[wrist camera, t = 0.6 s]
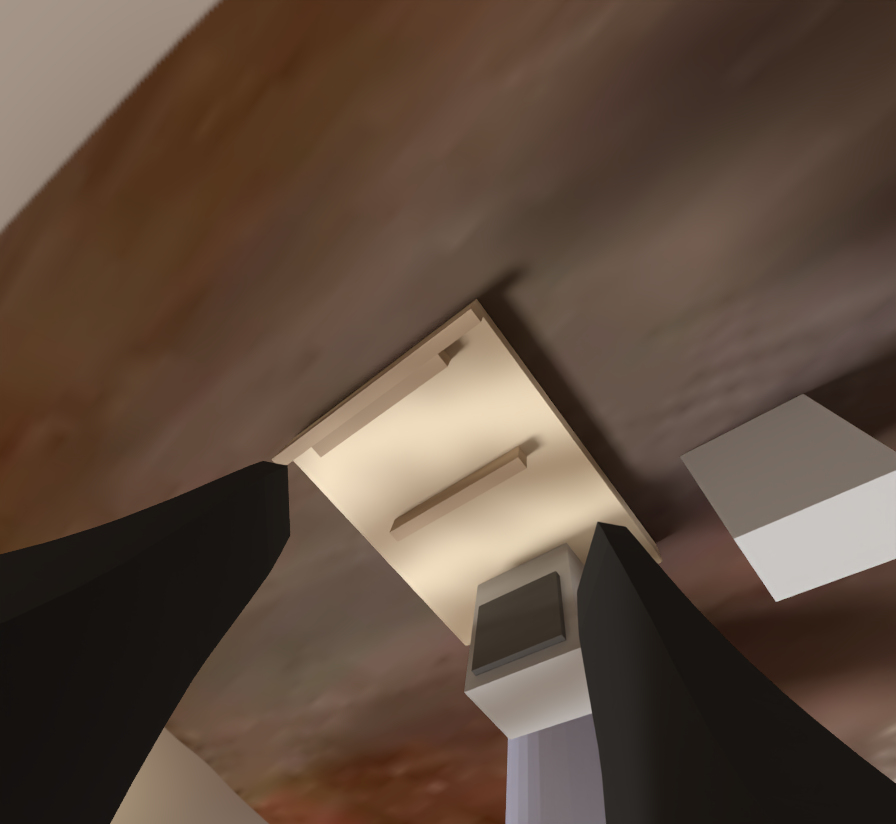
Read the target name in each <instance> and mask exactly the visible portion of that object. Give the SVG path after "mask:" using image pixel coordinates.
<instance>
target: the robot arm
mask: <svg viewBox="0 0 896 824" xmlns="http://www.w3.org/2000/svg"><path fill="white" fill-rule="evenodd" d="M289 537H290V520H289V494H288V468H287V465H282V464H277V463H271V462H266V461H262V462H259V463H256V464H253V465H250V466H248V467H245V468H243V469H240V470H238V471H236V472H233V473H231V474H229V475H226V476H224V477H222V478H219V479H217V480H215V481H212V482H210V483H208V484H205V485H203V486H201V487H198V488H196V489H194V490H191V491H189V492H187V493H184V494H182V495H179V496H177V497H175V498H172V499H170V500H167V501H165V502H162V503H159V504H157V505H154V506H152V507H149V508H147V509H144V510H141V511H139V512H136V513H134V514H131V515H129V516H126V517H123V518H121V519H118V520H115V521H112V522H109V523H106V524H104V525H101V526H98V527H95V528H92V529H89V530H85V531H82V532H79V533H76V534H73V535H69V536H66V537H63V538H60V539H57V540H53V541H50V542H46V543H43V544H39V545H35V546H31V547H27V548H23V549H20V550H16V551H12V552H8V553H4V554H0V824H110V823H111V821H112V819H113V817H114V815H115V814H116V812H117V810H118V808H119V806H120V804H121V802H122V801H123V799H124V797H125V795H126V793H127V791H128V789H129V787H130V786H131V784H132V782H133V780H134V779H135V777H136V775H137V773H138V772H139V770H140V768H141V766H142V765H143V763H144V761H145V759H146V758H147V756H148V754H149V752H150V751H151V749H152V747H153V746H154V744H155V742H156V740H157V739H158V737H159V735H160V733H161V732H162V730H163V728H164V726H165V725H166V723H167V721H168V720H169V718H170V716H171V715H172V713H173V711H174V710H175V708H176V706H177V705H178V703H179V702H180V700H181V698H182V697H183V695H184V693H185V692H186V690H187V688H188V687H189V685H190V683H191V682H192V680H193V678H194V677H195V676H196V674H197V673H198V671H199V670H200V668H201V667H202V665H203V664H204V662H205V661H206V659H207V658H208V657H209V655H210V654H211V652H212V651H213V650H214V648H215V647H216V646H217V644H218V643H219V642H220V640H221V639H222V638H223V636H224V635H225V633H226V632H227V631H228V629H229V628H230V627H231V625H232V624H233V623H234V621H235V620H236V619H237V617H238V616H239V614H240V613H241V612H242V610H243V609H244V608H245V606H246V605H247V604H248V602H249V601H250V600H251V598H252V597H253V595H254V594H255V593H256V591H257V590H258V588H259V587H260V586H261V584H262V583H263V582H264V580H265V579H266V577H267V576H268V574H269V573H270V571H271V570H272V568H273V566H274V564H275V563H276V561H277V559H278V557H279V556H280V554H281V552H282V550H283V548H284V546H285V544H286V542H287V540H288V538H289ZM577 610H578V629H579V640H580V646H581V652H582V658H583V664H584V670H585V676H586V681H587V687H588V693H589V699H590V704H591V710H592V713H591V714H588V715H585V716H582V717H579V718H576V719H573V720H570V721H566V722H563V723H560V724H557V725H554V726H551V727H548V728H545V729H542V730H539V731H536V732H532V733H529V734H526V735H523V736H520V737H517V738H514V739H511V740H510V739H509V738H508V761H507V795H506V824H896V783H894V782H893V781H892V780H891V779H889V778H888V777H887V776H885V775H884V774H883V773H881V772H880V771H879V770H877V769H876V768H875V767H874V766H872V765H871V764H870V763H868V762H867V761H866V760H864V759H863V758H862V757H861V756H859V755H858V754H857V753H856V752H854V751H853V750H852V749H851V748H849V747H848V746H847V745H846V744H844V743H843V742H842V741H841V740H839V739H838V738H837V737H836V736H835V735H833V734H832V733H831V732H830V731H828V730H827V729H826V728H825V727H823V726H822V725H821V724H820V723H819V722H817V721H816V720H815V719H814V718H812V717H811V716H810V715H809V714H808V713H806V712H805V711H804V710H803V709H802V708H801V707H799V706H798V705H797V704H796V703H795V702H794V701H792V700H791V699H790V698H789V697H788V696H787V695H786V694H784V693H783V692H782V691H781V690H780V689H779V688H778V687H777V686H776V685H774V684H773V683H772V682H771V681H770V680H769V679H768V678H767V677H766V676H765V675H763V674H762V673H761V672H760V671H759V670H758V669H757V668H756V667H755V666H754V665H752V664H751V663H750V662H749V661H748V660H747V659H746V658H745V657H744V656H743V655H742V654H741V653H740V652H739V651H738V650H737V649H736V648H735V647H734V646H733V645H732V644H731V643H730V642H729V641H728V640H727V639H726V638H725V637H724V636H723V635H722V634H721V633H720V632H719V631H718V630H717V629H716V628H715V627H714V626H713V625H712V624H711V623H710V622H709V621H708V620H707V619H706V618H705V617H704V616H703V614H702V613H701V612H700V611H699V610H698V609H697V608H696V607H695V606H694V605H693V604H692V603H691V601H690V600H689V599H688V598H687V597H686V596H685V595H684V594H683V593H682V591H681V590H680V589H679V588H678V587H677V586H676V585H675V583H674V582H673V581H672V580H671V579H670V578H669V577H668V575H667V574H666V573H665V572H664V571H663V570H662V568H661V567H660V566H659V565H658V564H657V562H656V561H655V560H654V559H653V558H652V557H651V555H650V554H649V553H648V552H647V551H646V549H645V548H644V547H643V546H642V545H641V543H640V542H639V541H638V540H637V539H636V537H635V536H634V535H633V534H632V533H631V532H630V531H629V530H628V528H627V527H625V526H619V525H614V524H608V523H603V522H597V525H596V528H595V532H594V535H593V539H592V542H591V545H590V549H589V552H588V555H587V559H586V562H585V566H584V569H583V572H582V576H581V579H580V583H579V586H578V589H577Z"/></svg>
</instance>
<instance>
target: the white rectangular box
mask: <svg viewBox="0 0 896 824" xmlns="http://www.w3.org/2000/svg"><path fill="white" fill-rule="evenodd" d="M680 458H681V459H682V461H683V462H684V464H685V465H686V467H687V468H688V470H689V471H690V473H691V475H692V476H693V478H694V479H695V481H696V482H697V484H698V485H699V487H700V488H701V490H702V491H703V493H704V494H705V496H706V497H707V499H708V500H709V502H710V503H711V505H712V507H713V508H714V510H715V511H716V513H717V514H718V516H719V517H720V519H721V520H722V522H723V523H724V525H725V526H726V528H727V529H728V531H729V532H730V534H731V535H732V537H733V539H734V540H735V542H736V543H737V544H738V546H739V547H740V549H741V550H742V552H743V553H744V555H745V556H746V558H747V559H748V561H749V562H750V564H751V565H752V567H753V568H754V570H755V571H756V573H757V574H758V576H759V577H760V579H761V580H762V582H763V583H764V585H765V586H766V588H767V589H768V591H769V592H770V593H771V595H772V596H773V598H774V599H775V601H776V602H777V601H780V600H783V599H786V598H788V597H791V596H794V595H797V594H799V593H802V592H805V591H808V590H811V589H813V588H816V587H819V586H822V585H824V584H827V583H830V582H833V581H835V580H838V579H841V578H844V577H846V576H849V575H852V574H855V573H858V572H860V571H863V570H866V569H869V568H871V567H874V566H877V565H880V564H882V563H885V562H888V561H891V560H893V559H896V452H895V451H894V450H892V449H890V448H889V447H887V446H886V445H884V444H882V443H881V442H879V441H878V440H876V439H874V438H873V437H871V436H870V435H868V434H866V433H865V432H863V431H862V430H860V429H858V428H857V427H855V426H854V425H852V424H850V423H849V422H847V421H846V420H844V419H842V418H841V417H839V416H838V415H836V414H835V413H833V412H831V411H830V410H828V409H827V408H825V407H823V406H822V405H820V404H819V403H817V402H815V401H814V400H812V399H811V398H809V397H807V396H806V395H804V394H801V395H799V396H798V397H796V398H794V399H792V400H790V401H788V402H786V403H784V404H782V405H780V406H778V407H776V408H774V409H772V410H770V411H768V412H766V413H764V414H762V415H760V416H758V417H756V418H754V419H752V420H750V421H748V422H746V423H744V424H742V425H741V426H739V427H737V428H735V429H733V430H731V431H729V432H727V433H725V434H723V435H721V436H719V437H717V438H715V439H713V440H711V441H709V442H707V443H705V444H703V445H701V446H699V447H697V448H695V449H693V450H691V451H689V452H687V453H685V454H683V455H682V456H680Z"/></svg>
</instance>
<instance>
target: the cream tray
mask: <svg viewBox="0 0 896 824" xmlns="http://www.w3.org/2000/svg"><path fill="white" fill-rule="evenodd" d="M272 460H273V462H274V463H277V464H282V465H288V464H289V463H290V462H292V461H294V462H295V463H296V464H297V465H298V466H299V467H300V468H301V469H302V470H303V471H304V473H305V474H306V475H307V476H308V477H309V478H310V479H311V480H312V481H313V482H314V483H315V484H316V485H317V486H318V488H319V489H320V490H321V491H322V492H323V493H324V494H325V495H326V496H327V497H328V498H329V499H330V500H331V502H332V503H333V504H334V505H335V506H336V507H337V508H338V509H339V510H340V511H341V512H342V513H343V514H344V516H345V517H346V518H347V519H348V520H349V521H350V522H351V523H352V524H353V525H354V526H355V527H356V528H357V529H358V531H359V532H360V533H361V534H362V535H363V536H364V537H365V538H366V539H367V540H368V541H369V542H370V543H371V545H372V546H373V547H374V548H375V549H376V550H377V551H378V552H379V553H380V554H381V555H382V556H383V557H384V558H385V560H386V561H387V562H388V563H389V564H390V565H391V566H392V567H393V568H394V569H395V570H396V571H397V572H398V574H399V575H400V576H401V577H402V578H403V579H404V580H405V581H406V582H407V583H408V584H409V585H410V586H411V587H412V589H413V590H414V591H415V592H416V593H417V594H418V595H419V596H420V597H421V598H422V599H423V600H424V601H425V603H426V604H427V605H428V606H429V607H430V608H431V609H432V610H433V611H434V612H435V613H436V614H437V615H438V616H439V618H440V619H441V620H442V621H443V622H444V623H445V624H446V625H447V626H448V627H449V628H450V629H451V630H452V632H453V633H454V634H455V635H456V636H457V637H458V638H459V639H460V640H461V641H462V642H463V643H464V644H465V646H467V645H469V644H470V650H469V658H468V666H467V674H466V682H465V690H464V693H465V694H466V695H467V696H468V697H469V698H470V699H471V700H472V701H473V702H474V703H475V704H476V705H477V706H478V707H479V708H480V709H481V710H482V711H483V712H484V713H485V714H486V715H487V716H488V717H489V718H490V719H491V720H492V722H493V723H494V724H495V725H496V726H497V727H498V728H499V729H500V730H501V731H502V732H503V733H504V734H505V735H506V736H507V737H508V738H509V739H510V740H511V739H514V738H517V737H520V736H523V735H526V734H529V733H532V732H536V731H539V730H542V729H545V728H548V727H551V726H554V725H557V724H560V723H563V722H566V721H570V720H573V719H576V718H579V717H582V716H585V715H588V714H591V713H592V710H591V704H590V699H589V693H588V687H587V681H586V676H585V670H584V664H583V658H582V652H581V646H580V640H579V629H578V610H577V589H578V586H579V583H580V579H581V576H582V572H583V569H584V566H585V562H586V559H587V555H588V552H589V549H590V545H591V542H592V539H593V535H594V532H595V528H596V525H597V522H603V523H608V524H614V525H619V526H625V527H627V528H628V530H629V531H630V532H631V533H632V534H633V535H634V536H635V537H636V539H637V540H638V541H639V542H640V543H641V545H642V546H643V547H644V548H645V549H646V551H647V552H648V553H649V554H650V555H651V557H652V558H653V559H654V560H655V561H656V562H657V564H658V563H660V562H663V560H662V558H661V556H660V553H659V551H658V548H657V546H656V544H655V542H654V541H653V539H652V538H651V537H650V535H649V534H648V533H647V531H646V530H645V528H644V527H643V526H642V524H641V523H640V522H639V520H638V519H637V517H636V516H635V515H634V513H633V512H632V511H631V509H630V508H629V507H628V505H627V504H626V502H625V501H624V500H623V498H622V497H621V496H620V494H619V493H618V491H617V490H616V489H615V487H614V486H613V485H612V483H611V482H610V481H609V479H608V478H607V476H606V475H605V474H604V472H603V471H602V470H601V468H600V467H599V465H598V464H597V463H596V461H595V460H594V459H593V457H592V456H591V455H590V453H589V452H588V450H587V449H586V448H585V446H584V445H583V444H582V442H581V441H580V439H579V438H578V437H577V435H576V434H575V433H574V431H573V430H572V429H571V427H570V426H569V424H568V423H567V422H566V420H565V419H564V418H563V416H562V415H561V413H560V412H559V411H558V409H557V408H556V407H555V405H554V404H553V403H552V401H551V400H550V398H549V397H548V396H547V394H546V393H545V392H544V390H543V389H542V387H541V386H540V385H539V383H538V382H537V381H536V379H535V378H534V377H533V375H532V374H531V372H530V371H529V370H528V368H527V367H526V366H525V364H524V363H523V361H522V360H521V359H520V357H519V356H518V355H517V353H516V352H515V351H514V349H513V348H512V346H511V345H510V344H509V342H508V341H507V340H506V338H505V337H504V335H503V334H502V333H501V331H500V330H499V329H498V327H497V326H496V325H495V323H494V322H493V320H492V319H491V318H490V316H489V315H488V314H487V312H486V311H485V309H484V308H483V307H482V305H481V304H480V303H479V301H478V300H477V299H476V300H474V301H473V302H472V303H470V304H469V305H468V306H466V307H465V308H464V309H463V310H461V311H460V312H459V313H457V314H456V315H455V316H453V317H452V318H451V319H449V320H448V321H447V322H445V323H444V324H443V325H442V326H440V327H439V328H438V329H436V330H435V331H434V332H432V333H431V334H430V335H428V336H427V337H426V338H424V339H423V340H422V341H421V342H419V343H418V344H417V345H415V346H414V347H413V348H411V349H410V350H409V351H407V352H406V353H405V354H403V355H402V356H401V357H400V358H398V359H397V360H396V361H394V362H393V363H392V364H390V365H389V366H388V367H386V368H385V369H384V370H382V371H381V372H380V373H379V374H377V375H376V376H375V377H373V378H372V379H371V380H369V381H368V382H367V383H365V384H364V385H363V386H361V387H360V388H359V389H358V390H356V391H355V392H354V393H352V394H351V395H350V396H348V397H347V398H346V399H344V400H343V401H342V402H340V403H339V404H338V405H337V406H335V407H334V408H333V409H331V410H330V411H329V412H327V413H326V414H325V415H323V416H322V417H321V418H319V419H318V420H317V421H315V422H314V423H313V424H312V425H310V426H309V427H308V428H306V429H305V430H304V431H302V432H301V433H300V434H298V435H297V436H296V437H295V438H293V439H292V440H291V441H290V442H289V443H288V444H287V445H286V446H285V447H284V448H283V449H282V450H281V451H280V452H279V453H278V454H277V455H276V456H275V457H274V458H272Z"/></svg>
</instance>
